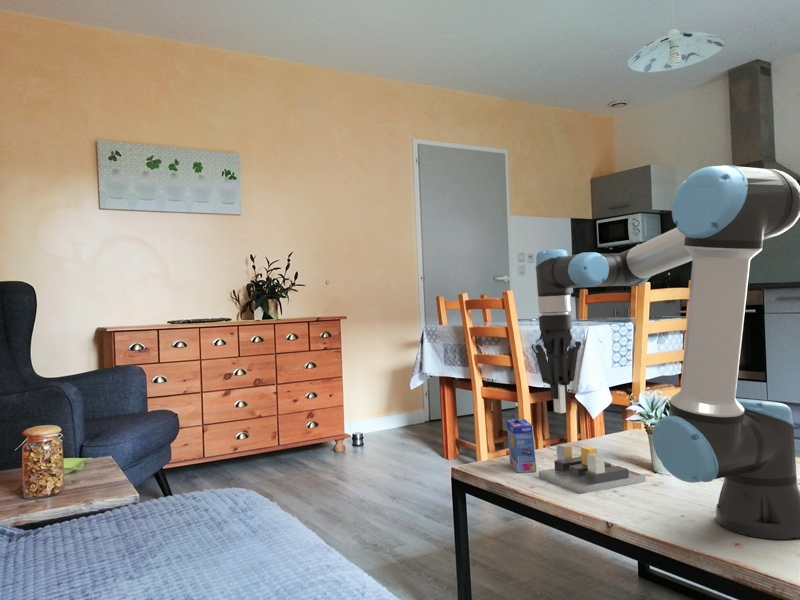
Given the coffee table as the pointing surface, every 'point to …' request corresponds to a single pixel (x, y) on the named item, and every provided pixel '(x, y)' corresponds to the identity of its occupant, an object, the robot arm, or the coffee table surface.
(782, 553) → the coffee table surface
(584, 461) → the block
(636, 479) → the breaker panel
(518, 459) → the ink cartridge box
